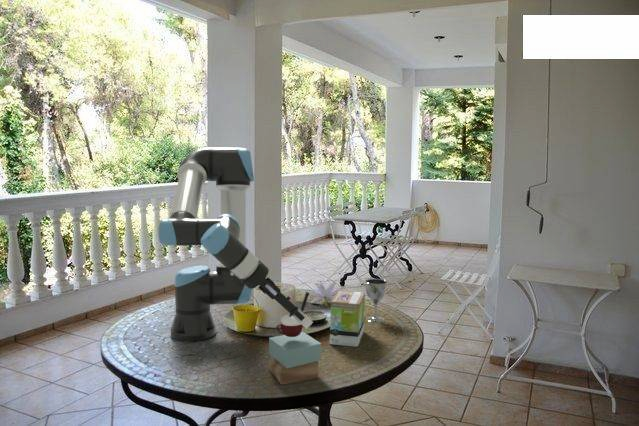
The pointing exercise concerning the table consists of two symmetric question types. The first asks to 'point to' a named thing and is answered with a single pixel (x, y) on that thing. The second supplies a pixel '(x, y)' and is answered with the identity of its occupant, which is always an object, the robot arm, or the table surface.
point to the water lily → (324, 293)
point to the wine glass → (376, 296)
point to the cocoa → (292, 322)
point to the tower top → (294, 350)
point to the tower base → (293, 371)
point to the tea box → (347, 318)
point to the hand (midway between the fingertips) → (305, 321)
